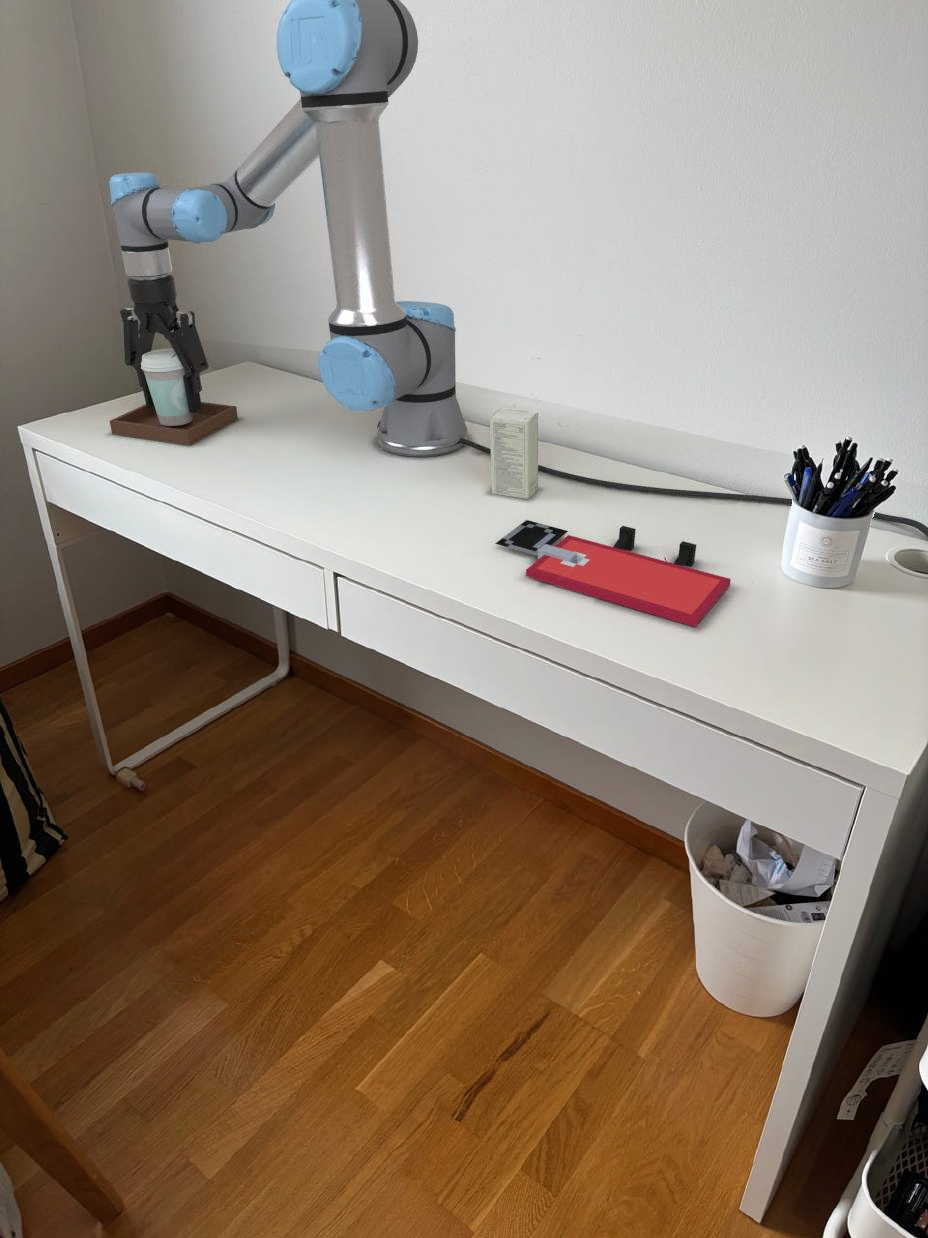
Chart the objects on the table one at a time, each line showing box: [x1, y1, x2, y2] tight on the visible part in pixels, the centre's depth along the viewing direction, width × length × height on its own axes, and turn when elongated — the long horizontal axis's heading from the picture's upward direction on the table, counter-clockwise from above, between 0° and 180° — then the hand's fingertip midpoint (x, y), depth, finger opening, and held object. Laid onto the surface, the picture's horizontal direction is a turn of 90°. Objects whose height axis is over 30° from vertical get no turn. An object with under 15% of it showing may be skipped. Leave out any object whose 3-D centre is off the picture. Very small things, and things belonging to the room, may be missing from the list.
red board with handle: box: [494, 519, 732, 628], centre depth 122 cm, size 30×3×15 cm
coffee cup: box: [141, 347, 193, 426], centre depth 168 cm, size 8×8×12 cm
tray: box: [109, 401, 239, 447], centre depth 171 cm, size 17×15×2 cm
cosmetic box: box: [489, 408, 539, 500], centre depth 141 cm, size 6×4×12 cm
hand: (174, 407), depth 170 cm, fingers closed on coffee cup, 9 cm apart
